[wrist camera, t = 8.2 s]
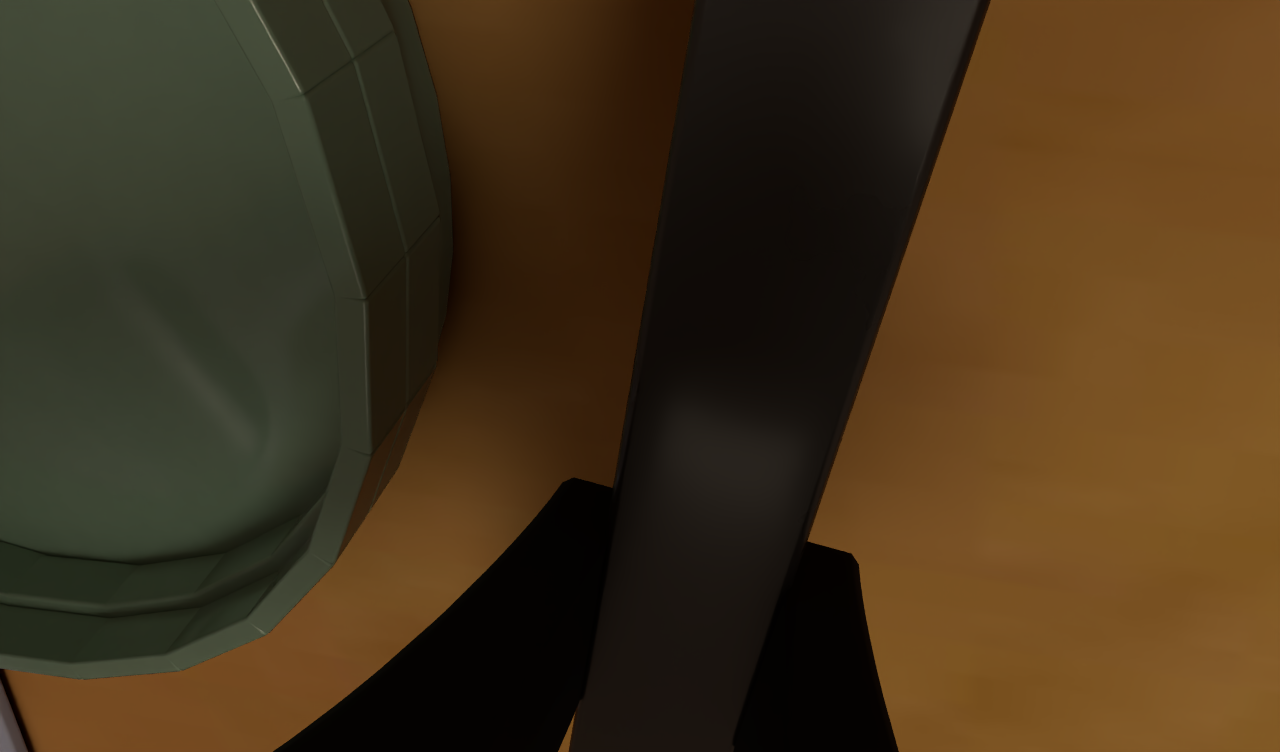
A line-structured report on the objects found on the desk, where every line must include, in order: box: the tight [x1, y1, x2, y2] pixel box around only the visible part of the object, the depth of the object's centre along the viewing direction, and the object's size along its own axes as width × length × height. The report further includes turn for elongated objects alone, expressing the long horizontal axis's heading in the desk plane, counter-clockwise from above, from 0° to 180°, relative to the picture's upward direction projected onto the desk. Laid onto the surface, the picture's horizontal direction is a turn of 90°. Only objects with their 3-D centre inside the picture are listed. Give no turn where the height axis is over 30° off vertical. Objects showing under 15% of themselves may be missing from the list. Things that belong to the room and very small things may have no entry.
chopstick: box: [569, 0, 991, 752], centre depth 11 cm, size 2×16×2 cm, turn 172°
